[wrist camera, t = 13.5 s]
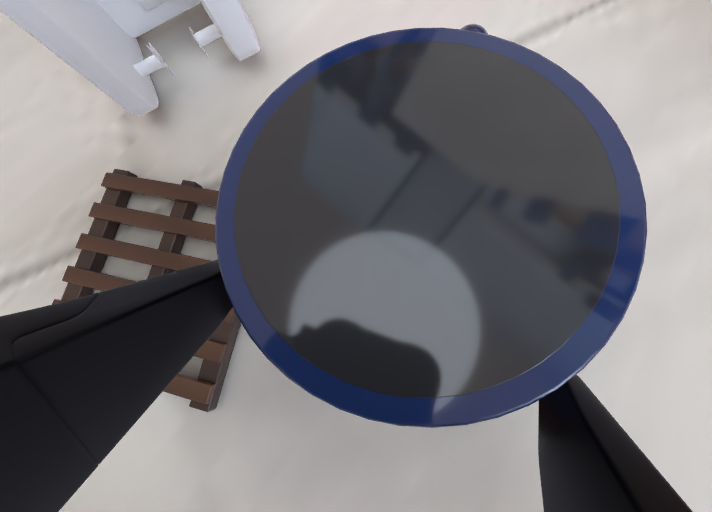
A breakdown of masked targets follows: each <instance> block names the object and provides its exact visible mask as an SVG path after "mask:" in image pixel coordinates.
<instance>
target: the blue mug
mask: <svg viewBox="0 0 712 512" xmlns="http://www.w3.org/2000/svg"><path fill="white" fill-rule="evenodd" d="M646 236H647V221H646V202H645V198H644V193H643V188H642V183H641V179H640V174H639V171H638V169H637V166H636V163H635V161H634V158H633V155H632V153H631V150H630V148H629V146H628V144H627V142H626V140H625V139H624V137H623V135H622V133H621V131H620V129H619V128H618V126H617V124H616V123H615V121H614V120H613V119H612V117H611V116H610V115H609V113H608V112H607V111H606V109H605V108H604V107H603V105H602V104H601V103H600V102H599V101H598V100H597V99H596V98H595V97H594V96H593V94H592V93H591V92H590V91H589V90H588V89H587V88H586V87H585V86H584V85H583V84H582V83H580V82H579V81H578V80H577V79H575V78H574V77H573V76H572V75H570V74H569V73H568V72H567V71H565V70H564V69H563V68H561V67H560V66H558V65H557V64H555V63H553V62H552V61H550V60H548V59H547V58H545V57H543V56H542V55H540V54H538V53H536V52H534V51H532V50H530V49H527V48H525V47H523V46H521V45H519V44H516V43H514V42H511V41H508V40H505V39H501V38H498V37H495V36H492V35H488V33H487V31H486V30H485V29H484V28H483V27H482V26H480V25H477V24H470V25H466V26H464V27H463V28H461V29H450V28H413V29H405V30H396V31H390V32H386V33H381V34H377V35H372V36H369V37H366V38H363V39H360V40H357V41H354V42H351V43H348V44H345V45H343V46H341V47H339V48H337V49H334V50H332V51H330V52H328V53H326V54H324V55H322V56H321V57H319V58H317V59H316V60H314V61H312V62H310V63H309V64H307V65H306V66H304V67H303V68H302V69H300V70H299V71H297V72H296V73H295V74H293V75H292V76H291V77H289V78H288V79H287V80H286V81H285V82H284V83H283V84H281V85H280V86H279V87H278V88H277V89H276V90H275V91H274V92H273V93H272V94H271V95H270V96H269V97H268V98H267V99H266V100H265V102H264V103H263V104H262V105H261V106H260V107H259V109H258V110H257V111H256V112H255V114H254V115H253V117H252V118H251V119H250V121H249V122H248V124H247V125H246V127H245V128H244V130H243V131H242V133H241V135H240V137H239V139H238V141H237V143H236V145H235V146H234V148H233V150H232V153H231V155H230V158H229V160H228V163H227V166H226V168H225V171H224V174H223V178H222V182H221V186H220V190H219V194H218V202H217V210H216V247H217V254H218V262H219V267H220V271H221V275H222V278H223V282H224V285H225V289H226V292H227V294H228V296H229V299H230V301H231V303H232V306H233V308H234V310H235V313H236V315H237V316H238V318H239V320H240V321H241V323H242V325H243V326H244V328H245V330H246V331H247V333H248V335H249V336H250V338H251V339H252V340H253V341H254V343H255V344H256V345H257V346H258V348H259V349H260V350H261V351H262V353H263V354H264V355H265V356H266V358H267V359H268V360H269V361H270V362H271V363H272V364H274V365H275V366H276V367H277V368H278V369H279V370H280V371H281V372H282V373H283V374H284V375H285V376H286V377H287V378H289V379H290V380H291V381H293V382H294V383H296V384H297V385H298V386H300V387H301V388H303V389H304V390H305V391H307V392H308V393H310V394H311V395H313V396H315V397H317V398H318V399H320V400H322V401H324V402H326V403H328V404H330V405H332V406H334V407H336V408H338V409H340V410H343V411H346V412H348V413H351V414H354V415H357V416H360V417H363V418H366V419H368V420H373V421H378V422H383V423H388V424H393V425H398V426H409V427H426V428H437V427H449V426H461V425H468V424H473V423H477V422H481V421H486V420H490V419H494V418H498V417H501V416H504V415H506V414H509V413H511V412H514V411H516V410H519V409H521V408H524V407H527V406H529V405H531V404H533V403H534V402H536V401H538V400H540V399H541V398H543V397H545V396H546V395H548V394H550V393H552V392H553V391H555V390H557V389H558V388H560V387H561V386H562V385H563V384H565V383H566V382H567V381H568V380H570V379H571V378H572V377H573V376H575V375H576V374H577V373H578V372H580V371H581V370H582V369H584V368H585V366H586V365H587V364H588V363H589V362H590V361H591V360H592V359H593V358H594V357H595V356H596V354H597V353H598V352H599V351H600V350H601V349H602V348H603V347H604V346H605V345H606V343H607V342H608V340H609V339H610V337H611V336H612V334H613V333H614V331H615V330H616V328H617V327H618V325H619V324H620V322H621V321H622V319H623V317H624V315H625V313H626V311H627V309H628V306H629V304H630V302H631V300H632V298H633V295H634V293H635V291H636V288H637V284H638V281H639V277H640V273H641V270H642V266H643V262H644V255H645V246H646Z"/></svg>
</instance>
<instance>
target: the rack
mask: <svg viewBox="0 0 712 512" xmlns="http://www.w3.org/2000/svg"><path fill="white" fill-rule="evenodd" d="M101 186H103V187H105V188H107V189H106V191H105V193H104V196H103V198H102V201H101V203H96V202H94V204H93V206H92V208H91V211H90V213H89V216H90V217H93V218H94V221H93V223H92V225H91V228H90V230H89V233H88V234H83V233H81V235H80V238H79V240H78V243H77V245H76V248H79V249H82V250H81V253H80V255H79V257H78V260H77V262H76V265H75V267H74V266H68V267H67V269H66V272H65V274H64V277H63V279H62V281H65V282H68V285H67V287H66V289H65V292H64V294H63V297H62V299H61V300H56V299H55V300H54V301H53V303H52V305H53V304H57V303H61V302H65V301H69V300H73V299H76V298H80V297H84V296H87V295H91V294H92V292H93V290H94V289H97V290H101V291H106V290H109V289H113V288H117V287H120V286H124V285H127V284H131V283H135V282H136V281H132V280H128V279H124V278H120V277H116V276H111V275H107V274H103V273H100V272H101V269H102V266H103V264H104V261H105V259H106V256H107V255H110V256H114V257H119V258H123V259H128V260H132V261H137V262H141V263H146V264H150V265H152V268H151V270H150V273H149V276H148V279H149V278H153V277H157V276H160V275H164V274H167V273H171V272H173V271H174V270H177V271H178V270H182V269H186V268H189V267H193V266H197V265H200V264H204V263H207V262H211V261H209V260H205V259H200V258H195V257H191V256H186V255H181V254H179V253H180V250H181V248H182V245H183V242H184V239H185V236H187V237H192V238H197V239H202V240H207V241H212V242H216V225H212V224H207V223H202V222H196V221H191V218H192V215H193V212H194V210H195V207H196V204H200V205H205V206H211V207H217V202H218V194H219V191H215V190H209V189H203V188H202V187H201V186H200V185H198V184H197V183H196V182H191V181H185V180H183V181H182V183H181V185H179V184H173V183H167V182H161V181H155V180H149V179H143V178H137V176H136V175H134V174H133V173H131V172H129V171H125V170H118V169H114V171H113V173H106V174H105V177H104V179H103V182H102V184H101ZM131 192H132V193H137V194H143V195H149V196H154V197H160V198H166V199H171V200H175V203H174V206H173V209H172V211H171V214H170V216H165V215H159V214H154V213H149V212H143V211H138V210H133V209H128V208H125V207H126V205H127V202H128V200H129V197H130V194H131ZM119 223H122V224H127V225H132V226H137V227H142V228H147V229H152V230H157V231H162V232H164V234H163V237H162V240H161V242H160V245H159V248H158V249H153V248H149V247H144V246H139V245H134V244H130V243H125V242H120V241H116V240H113V238H114V236H115V233H116V230H117V228H118V225H119ZM240 323H241V321H240V320H239V318H238V316H237V315H236V313H235V310H234V308H232V309H231V310H230V312H229V313H228V315H227V316H226V318H225V319H224V320H223V322H222V323H221V324H220V326H219V327H218V328H217V329H216V330H215V332H214V333H213V334H212V335H211V336H210V339H208V340H207V341H206V342H205V343H204V344H203V345H202V347H201V348H200V349H199V350H198V351H197V352H196V353H195V355H194V356H196V357H200V358H203V363H202V366H201V369H200V372H199V376H198V379H196V378H192V377H189V376H185V375H182V374H179V373H178V374H177V375H176V376H175V378H174V379H173V380H172V381H171V382H170V383H169V385H168V386H167V387H166V388H165V389H164V390H163V391H164V392H167V393H170V394H174V395H177V396H180V397H183V398H186V399H190V400H191V402H190V405H189V406H190V407H193V408H196V409H199V410H203V411H206V412H209V411H211V410H213V409H215V408H216V406H217V402H218V399H219V395H220V392H221V389H222V385H223V382H224V378H225V375H226V371H227V368H228V364H229V361H230V357H231V354H232V351H233V347H234V344H235V340H236V337H237V333H238V330H239V326H240Z"/></svg>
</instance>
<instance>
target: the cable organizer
mask: <svg viewBox="0 0 712 512" xmlns="http://www.w3.org/2000/svg"><path fill="white" fill-rule="evenodd" d="M200 3H201V4H202V5H203V7H204V9H205V10H206V12H207V14H208V15H209V17H210V18H211V20H212V22H213V24H211V25H209V26H208V27H206V28H204V29H202V30H200V31H198V32H196V33H194V32H193V30H192V29H191V27H190V29H191V30H190V29H189V30H190V32H191V34H192V35H193V37H194V39H195V41H196V42H197V44H198V45H199V47H200V48H201V49H202V50H203V52H205V53H206V55H207V56H208V54H207V52H206V51H205V49H204V46H205V45H207V44H209V43H211V42H213V41H215V40H217V39H219V38H221V37H222V38H223V40H224V41H225V43H226V44H227V46H228V48H229V49H230V50H231V52H232V53H233V55H234V56H235V57H236V58H237V59H238V60H239V61H242V60H244V59H246V58H248V57H250V56H251V55H253V54H255V53H257V52H259V51H260V45H259V41H258V38H257V36H256V33H255V31H254V28H253V26H252V24H251V21H250V19H249V17H248V15H247V13H246V11H245V9H244V7H243V5H242V3H241V1H240V0H0V11H1V12H2V13H4V14H5V15H6V16H7V17H9V18H10V19H11V20H12V21H14V22H15V23H16V24H18V25H19V26H20V27H21V28H23V29H24V30H25V31H26V32H28V33H29V34H30V35H32V36H33V37H34V38H35V39H37V40H38V41H39V42H40V43H42V44H43V45H44V46H46V47H47V48H48V49H49V50H51V51H52V52H53V53H54V54H56V55H57V56H58V57H59V58H61V59H62V60H63V61H65V62H66V63H67V64H68V65H70V66H71V67H72V68H73V69H75V70H76V71H77V72H79V73H80V74H81V75H82V76H84V77H85V78H86V79H87V80H89V81H90V82H91V83H93V84H94V85H95V86H96V87H98V88H99V89H100V90H101V91H103V92H104V93H105V94H107V95H108V96H109V97H110V98H112V99H113V100H114V101H115V102H117V103H118V104H119V105H120V106H122V107H123V108H124V109H126V110H127V111H128V112H130V113H131V114H133V115H135V116H142V115H144V114H146V113H148V112H150V111H152V110H154V109H156V108H157V107H158V105H159V101H158V97H157V94H156V91H155V88H154V86H153V83H152V80H151V77H150V75H149V74H151V73H152V72H154V71H156V70H158V69H160V68H162V67H163V68H164V67H166V68H167V69H168V70H169V72H170V73H171V74H172V72H171V71H170V69H169V68H168V66H167V65H166V63H165V60H164V59H163V58H162V57H161V56H160V55H159V54H158V52H157V51H156V50H155V49H154V48H153V46H152V45H151V44H150V43H149V42H148V43H149V45H150V47H151V48H150V47H149V46H147V45H146V44H145V45H146V46H147V47H148V48H149V49H150V50H151V52H152V53H153V55H151V56H149V57H148V58H146V59H144V58H143V55H142V53H141V50H140V47H139V44H138V42H137V39H136V37H138V36H140V35H142V34H144V33H146V32H147V31H149V30H151V29H153V28H155V27H157V26H159V25H161V24H162V23H164V22H166V21H168V20H170V19H172V18H174V17H175V16H177V15H179V14H181V13H183V12H185V11H187V10H189V9H190V8H192V7H194V6H196V5H198V4H200ZM147 41H148V40H147ZM208 57H209V56H208ZM209 58H210V57H209ZM172 75H173V74H172ZM173 76H174V75H173Z"/></svg>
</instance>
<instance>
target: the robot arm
mask: <svg viewBox="0 0 712 512" xmlns="http://www.w3.org/2000/svg"><path fill="white" fill-rule="evenodd" d="M232 308H233V306H232V303H231V301H230V299H229V296H228V294H227V292H226V289H225V285H224V282H223V278H222V275H221V271H220V267H219V262H218V260H215V261H211V262H207V263H204V264H200V265H197V266H193V267H189V268H186V269H182V270H178V271H175V272H171V273H167V274H164V275H160V276H157V277H153V278H149V279H146V280H142V281H138V282H135V283H131V284H127V285H124V286H120V287H117V288H113V289H109V290H106V291H102V292H100V293H94V294H91V295H87V296H84V297H80V298H76V299H73V300H69V301H65V302H61V303H57V304H53V305H49V306H45V307H41V308H36V309H32V310H28V311H23V312H19V313H14V314H10V315H6V316H1V317H0V512H58V511H59V510H60V509H61V508H62V507H63V506H64V504H65V503H66V502H67V501H68V500H69V499H70V498H71V496H72V495H73V494H74V493H75V492H76V491H77V490H78V488H79V487H80V486H81V485H82V484H83V483H84V481H85V480H86V479H87V478H88V477H89V476H90V475H91V473H92V472H93V471H94V470H95V469H96V468H97V467H98V464H99V463H101V462H102V460H103V459H104V458H105V457H106V456H107V455H108V454H109V452H110V451H111V450H112V449H113V448H114V447H115V446H116V444H117V443H118V442H119V441H120V440H121V439H122V437H123V436H124V435H125V434H126V433H127V432H128V431H129V429H130V428H131V427H132V426H133V425H134V424H135V423H136V421H137V420H138V419H139V418H140V417H141V416H142V414H143V413H144V412H145V411H146V410H147V409H148V408H149V406H150V405H151V404H152V403H153V402H154V401H155V399H156V398H157V397H158V396H159V395H160V394H161V393H162V391H163V390H164V389H165V388H166V387H167V386H168V385H169V383H170V382H171V381H172V380H173V379H174V378H175V376H176V375H177V374H178V373H179V372H180V371H181V370H182V368H183V367H184V366H185V365H186V364H187V363H188V362H189V360H190V359H191V358H192V357H193V356H194V355H195V353H196V352H197V351H198V350H199V349H200V348H201V347H202V345H203V344H204V343H205V342H206V341H207V340H208V339H209V337H210V336H211V335H212V334H213V333H214V332H215V330H216V329H217V328H218V327H219V326H220V324H221V323H222V322H223V320H224V319H225V318H226V316H227V315H228V313H229V312H230V310H231V309H232ZM538 454H539V467H540V477H541V487H542V497H543V506H544V512H692V510H691V509H690V508H689V507H688V506H687V504H686V503H685V502H684V501H683V500H682V498H681V497H680V496H679V495H678V494H677V493H676V491H675V490H674V489H673V488H672V487H671V485H670V484H669V483H668V482H667V481H666V479H665V478H664V477H663V476H662V475H661V474H660V472H659V471H658V470H657V469H656V468H655V466H654V465H653V464H652V463H651V462H650V460H649V459H648V458H647V457H646V456H645V455H644V453H643V452H642V451H641V450H640V449H639V447H638V446H637V445H636V444H635V443H634V441H633V440H632V439H631V438H630V437H629V436H628V434H627V433H626V432H625V431H624V430H623V428H622V427H621V426H620V425H619V424H618V422H617V421H616V420H615V419H614V418H613V417H612V415H611V414H610V413H609V412H608V411H607V409H606V408H605V407H604V406H603V405H602V403H601V402H600V401H599V400H598V399H597V397H596V396H595V395H594V394H593V393H592V392H591V390H590V389H589V388H588V387H587V386H586V384H585V383H584V382H583V381H582V380H581V379H580V377H579V376H577V375H575V376H573V377H572V378H571V379H570V380H568V381H567V382H566V383H565V384H563V385H562V386H561V387H560V388H558V389H557V390H555V391H553V392H552V393H550V394H548V395H546V396H545V397H543V398H541V399H540V400H539V433H538Z"/></svg>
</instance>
